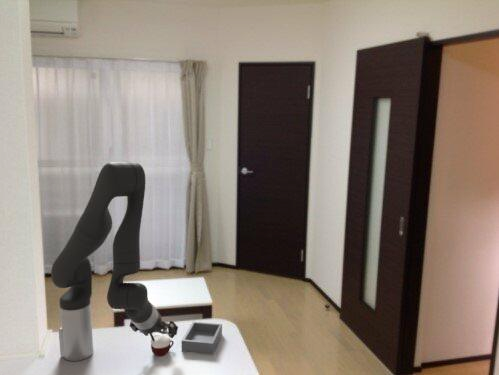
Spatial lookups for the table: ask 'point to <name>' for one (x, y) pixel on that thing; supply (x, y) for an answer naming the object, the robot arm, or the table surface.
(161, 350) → the cocoa
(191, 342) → the dock tray
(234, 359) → the table surface
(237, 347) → the table surface
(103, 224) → the robot arm
